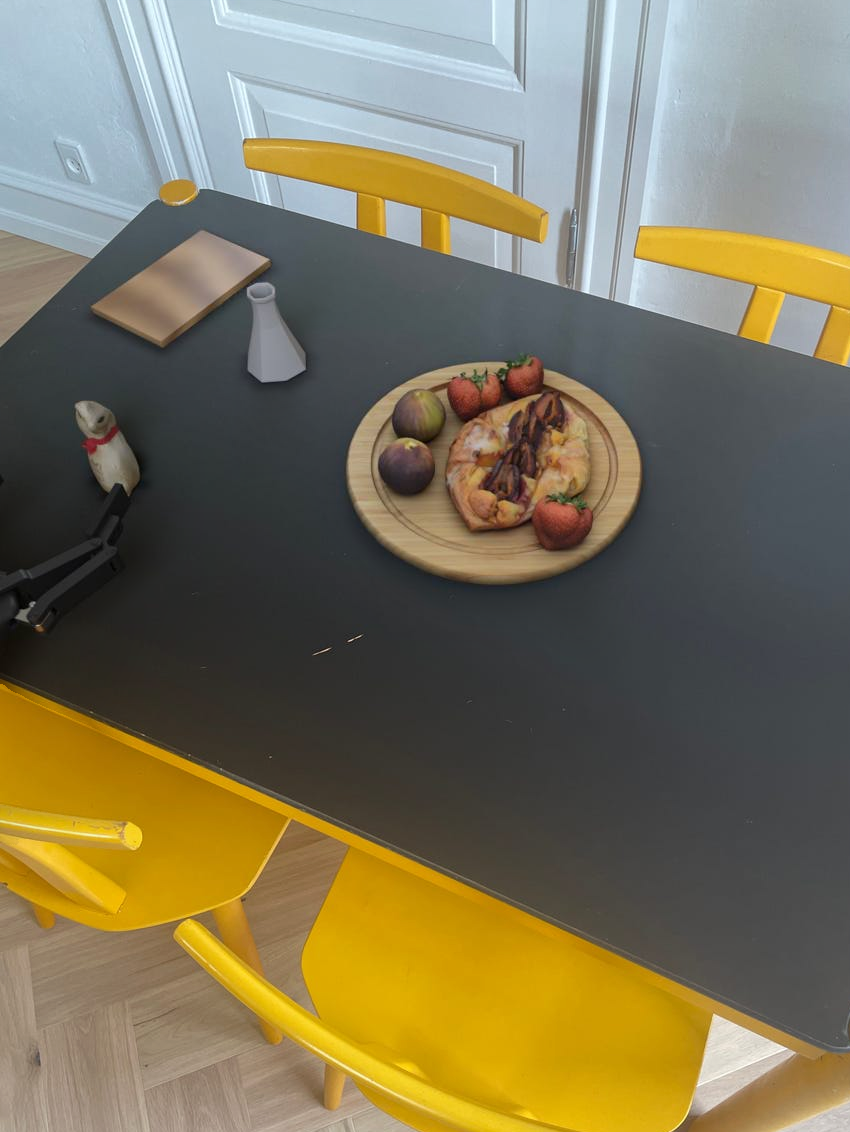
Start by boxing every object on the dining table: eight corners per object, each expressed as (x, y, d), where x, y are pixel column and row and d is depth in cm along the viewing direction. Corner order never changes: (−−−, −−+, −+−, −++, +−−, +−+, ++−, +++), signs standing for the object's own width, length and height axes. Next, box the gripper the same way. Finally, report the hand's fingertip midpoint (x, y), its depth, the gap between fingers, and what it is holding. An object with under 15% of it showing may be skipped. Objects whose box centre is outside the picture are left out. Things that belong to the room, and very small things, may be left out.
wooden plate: (687, 552, 91) (705, 497, 84) (383, 622, 86) (376, 569, 79) (581, 355, 108) (589, 295, 101) (322, 403, 103) (311, 344, 96)
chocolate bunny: (150, 445, 99) (120, 373, 90) (135, 498, 94) (102, 427, 86) (100, 445, 99) (66, 373, 90) (82, 497, 94) (45, 427, 86)
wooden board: (163, 348, 108) (160, 341, 107) (93, 313, 111) (90, 306, 111) (271, 266, 117) (269, 259, 116) (203, 236, 121) (201, 229, 120)
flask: (315, 373, 106) (302, 300, 97) (257, 391, 104) (238, 318, 95) (296, 338, 109) (281, 264, 101) (239, 354, 107) (219, 280, 99)
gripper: (-165, 657, 80) (-40, 487, 91) (93, 710, 77) (188, 528, 88) (-219, 609, 73) (-78, 432, 85) (59, 665, 71) (167, 475, 82)
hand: (58, 481), depth 87 cm, fingers open, 13 cm apart
